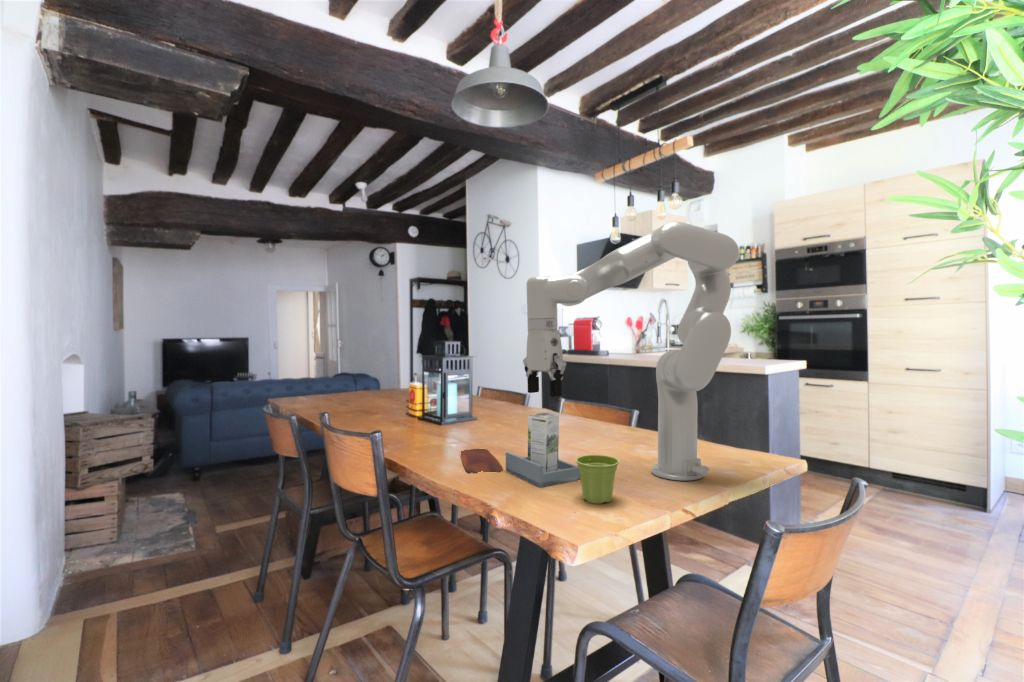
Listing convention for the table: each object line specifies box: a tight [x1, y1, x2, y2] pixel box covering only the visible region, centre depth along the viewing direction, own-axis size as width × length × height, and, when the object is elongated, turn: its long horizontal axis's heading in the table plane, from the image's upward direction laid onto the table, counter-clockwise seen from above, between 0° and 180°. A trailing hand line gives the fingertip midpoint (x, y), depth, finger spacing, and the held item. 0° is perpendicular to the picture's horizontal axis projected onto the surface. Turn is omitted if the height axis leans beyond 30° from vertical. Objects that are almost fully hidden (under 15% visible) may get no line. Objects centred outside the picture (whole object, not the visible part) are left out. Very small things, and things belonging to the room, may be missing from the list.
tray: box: [505, 451, 581, 488], centre depth 129 cm, size 16×12×5 cm
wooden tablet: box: [460, 448, 504, 474], centre depth 144 cm, size 27×10×2 cm, turn 11°
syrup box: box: [527, 412, 560, 473], centre depth 128 cm, size 6×6×14 cm
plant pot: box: [575, 454, 620, 505], centre depth 111 cm, size 9×9×9 cm
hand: (544, 394), depth 128 cm, fingers open, 9 cm apart
